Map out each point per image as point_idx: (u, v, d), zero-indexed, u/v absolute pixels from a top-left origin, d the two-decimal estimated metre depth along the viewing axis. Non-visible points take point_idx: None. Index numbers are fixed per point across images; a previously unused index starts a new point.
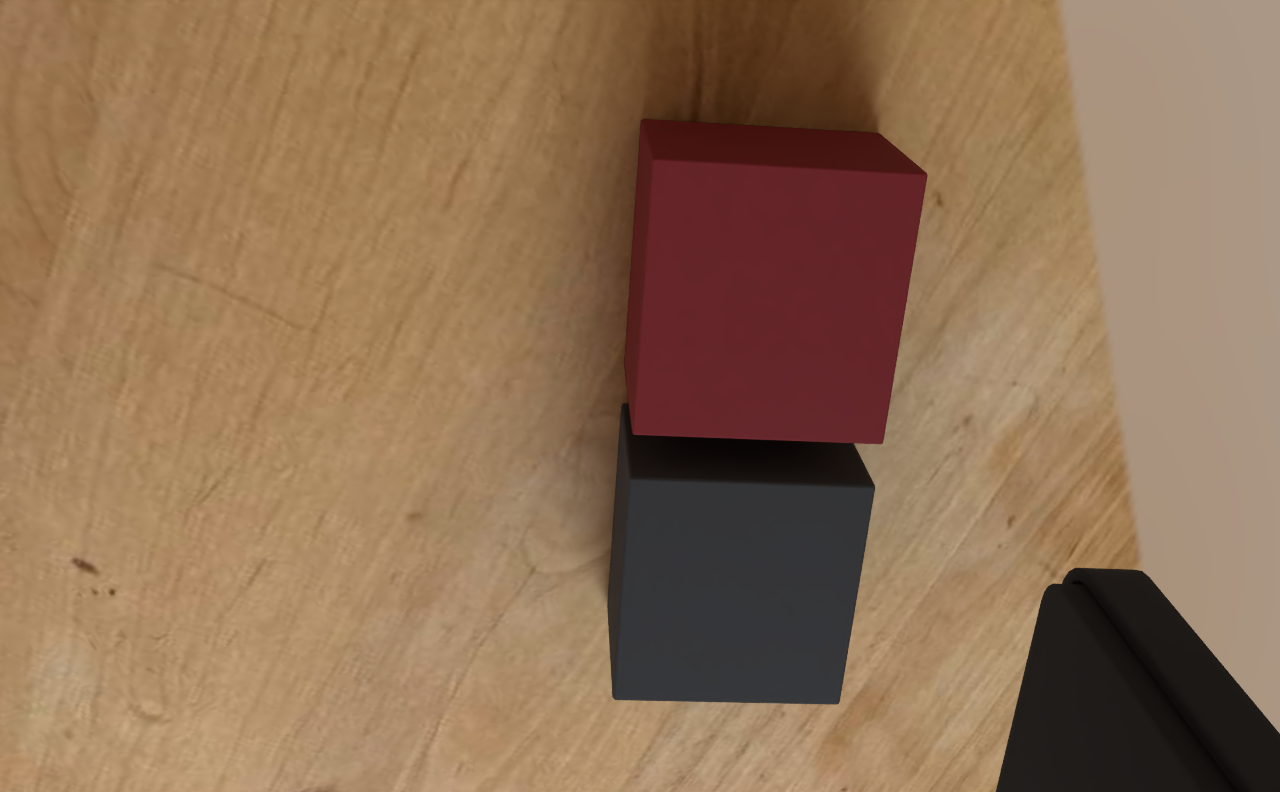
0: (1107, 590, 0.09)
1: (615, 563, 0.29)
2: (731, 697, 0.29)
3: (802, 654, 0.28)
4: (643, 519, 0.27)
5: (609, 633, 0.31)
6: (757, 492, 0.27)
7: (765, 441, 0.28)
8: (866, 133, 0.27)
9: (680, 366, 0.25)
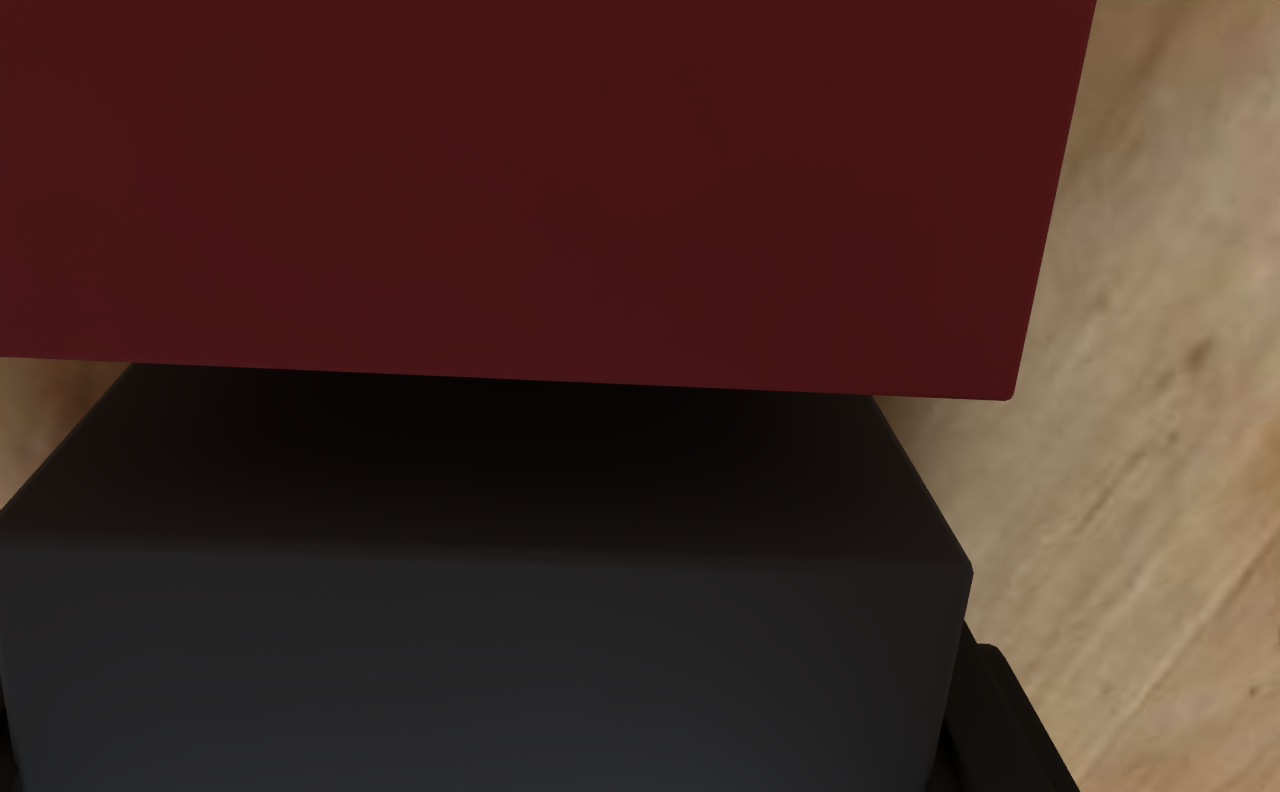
0: None
1: None
2: None
3: None
4: (68, 697, 0.07)
5: None
6: (510, 595, 0.07)
7: (590, 404, 0.09)
8: None
9: (91, 25, 0.05)
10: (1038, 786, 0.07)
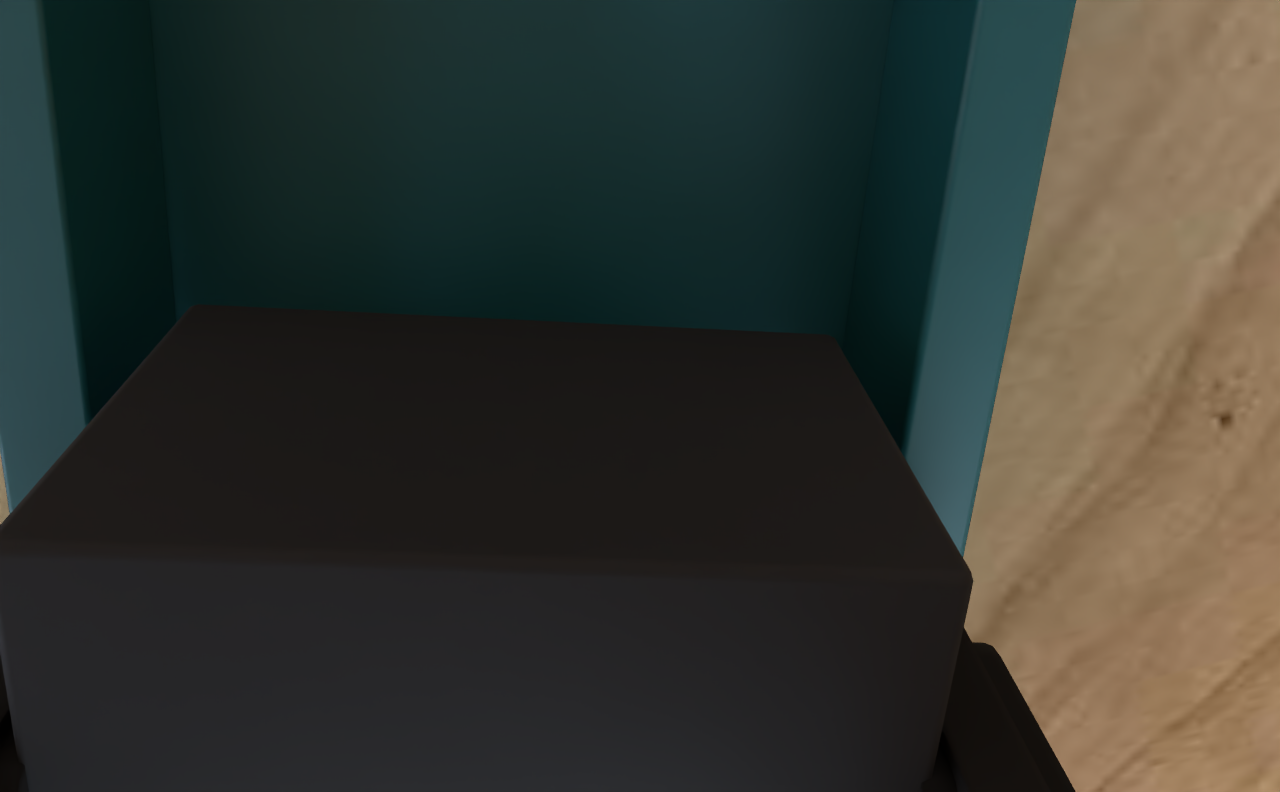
0: None
1: None
2: None
3: None
4: (73, 705, 0.07)
5: None
6: (511, 603, 0.07)
7: (591, 411, 0.09)
8: None
9: None
10: (1031, 783, 0.07)
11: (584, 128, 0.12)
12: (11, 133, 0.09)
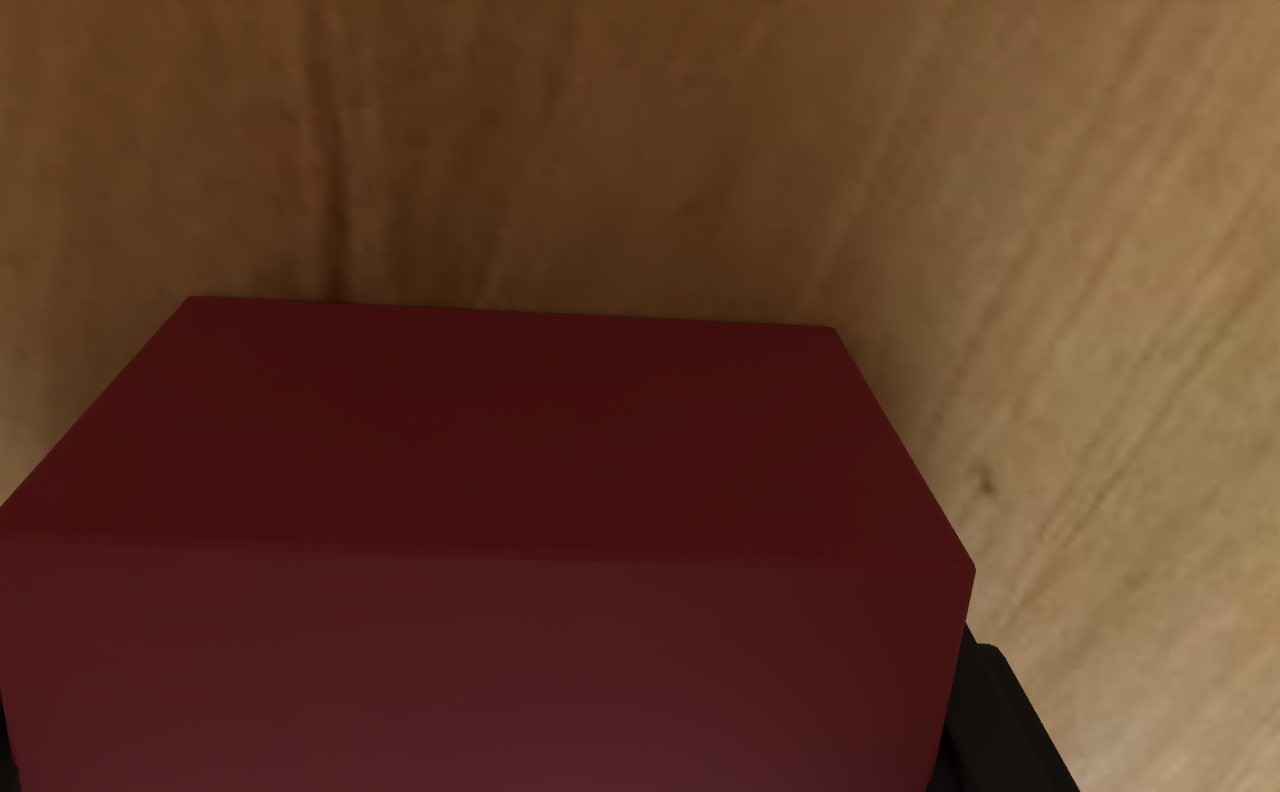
0: None
1: None
2: None
3: None
4: None
5: None
6: None
7: None
8: (798, 330, 0.10)
9: None
10: (1038, 786, 0.07)
11: None
12: None
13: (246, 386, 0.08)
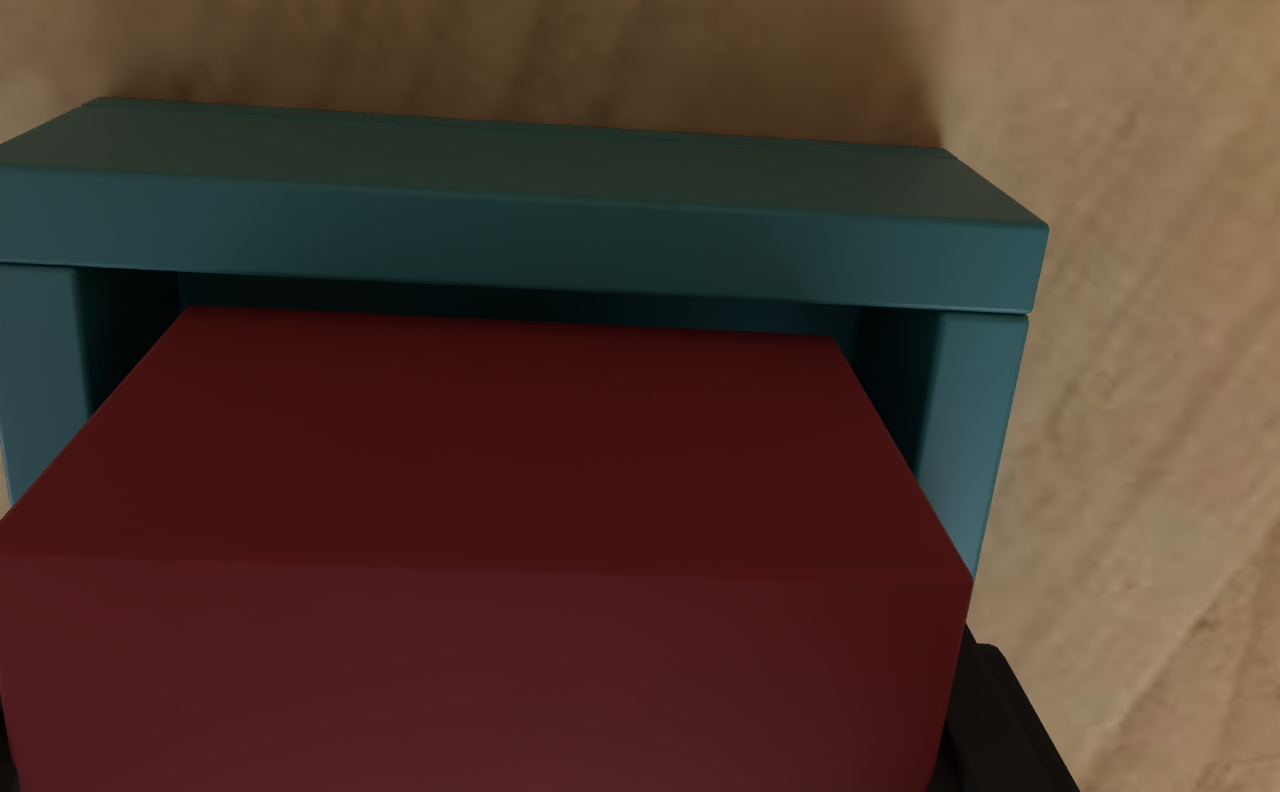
0: None
1: None
2: None
3: None
4: None
5: None
6: None
7: None
8: (796, 338, 0.10)
9: None
10: (1038, 786, 0.07)
11: None
12: None
13: (246, 396, 0.08)
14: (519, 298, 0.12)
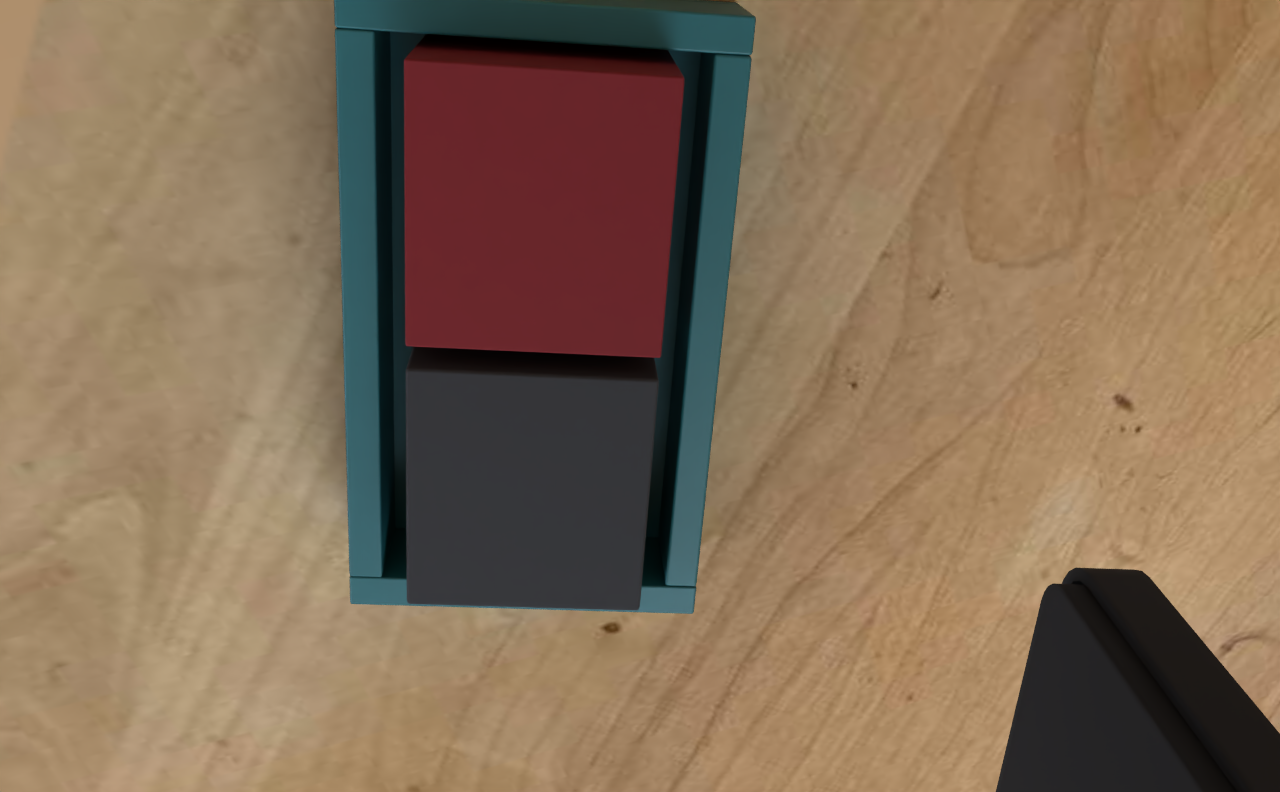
0: (1108, 590, 0.09)
1: None
2: (527, 602, 0.28)
3: (597, 557, 0.28)
4: (423, 413, 0.26)
5: None
6: (537, 385, 0.26)
7: None
8: (653, 50, 0.27)
9: (448, 275, 0.25)
10: None
11: None
12: (362, 279, 0.27)
13: (460, 47, 0.25)
14: None
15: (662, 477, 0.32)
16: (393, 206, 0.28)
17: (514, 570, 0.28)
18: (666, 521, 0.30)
